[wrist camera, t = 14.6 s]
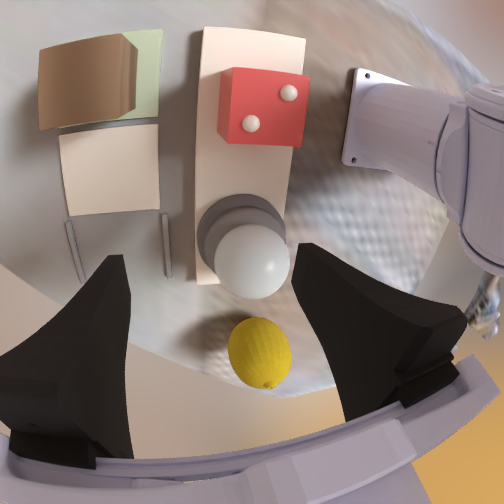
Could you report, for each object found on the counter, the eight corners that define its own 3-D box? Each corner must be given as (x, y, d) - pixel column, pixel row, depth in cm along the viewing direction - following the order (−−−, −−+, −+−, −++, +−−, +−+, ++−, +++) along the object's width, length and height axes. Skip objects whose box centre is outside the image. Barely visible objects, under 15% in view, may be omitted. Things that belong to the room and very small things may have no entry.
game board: (299, 40, 15) (312, 37, 14) (270, 271, 25) (277, 285, 24) (54, 46, 11) (42, 43, 9) (83, 284, 21) (78, 300, 20)
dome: (286, 205, 20) (316, 240, 16) (276, 271, 23) (298, 313, 19) (204, 207, 18) (214, 246, 14) (204, 277, 21) (213, 324, 17)
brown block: (138, 49, 13) (121, 33, 8) (135, 108, 15) (117, 118, 10) (78, 58, 12) (39, 50, 7) (77, 115, 14) (39, 131, 9)
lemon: (216, 308, 26) (234, 380, 20) (273, 294, 27) (304, 360, 21) (226, 343, 29) (243, 408, 23) (276, 330, 30) (302, 392, 24)
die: (283, 76, 16) (314, 76, 12) (277, 134, 18) (304, 149, 14) (221, 71, 15) (235, 66, 11) (216, 131, 17) (229, 145, 13)
